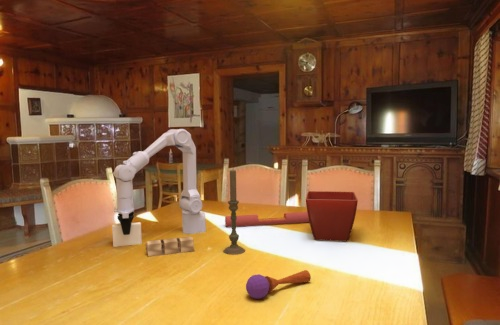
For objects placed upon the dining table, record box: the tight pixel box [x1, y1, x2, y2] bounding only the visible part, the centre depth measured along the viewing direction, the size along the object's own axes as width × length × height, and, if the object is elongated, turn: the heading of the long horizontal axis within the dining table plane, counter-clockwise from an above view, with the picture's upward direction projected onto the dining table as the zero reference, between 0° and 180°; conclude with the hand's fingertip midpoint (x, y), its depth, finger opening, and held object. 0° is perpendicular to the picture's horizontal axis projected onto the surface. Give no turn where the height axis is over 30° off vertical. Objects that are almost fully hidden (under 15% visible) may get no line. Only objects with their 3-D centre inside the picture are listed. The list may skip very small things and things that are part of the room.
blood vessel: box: [224, 211, 310, 228], centre depth 166 cm, size 42×5×5 cm, turn 100°
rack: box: [145, 236, 195, 258], centre depth 131 cm, size 16×14×2 cm
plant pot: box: [305, 190, 359, 242], centre depth 145 cm, size 19×19×17 cm
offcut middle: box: [163, 237, 179, 255], centre depth 127 cm, size 4×4×4 cm
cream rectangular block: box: [111, 222, 143, 248], centre depth 136 cm, size 10×3×8 cm, turn 108°
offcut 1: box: [146, 239, 163, 257], centre depth 125 cm, size 4×4×4 cm
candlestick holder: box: [222, 169, 246, 256], centre depth 125 cm, size 9×9×30 cm
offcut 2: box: [178, 236, 195, 253], centre depth 128 cm, size 4×4×4 cm
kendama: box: [245, 269, 312, 300], centre depth 98 cm, size 6×6×20 cm
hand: (126, 233), depth 135 cm, fingers open, 3 cm apart
